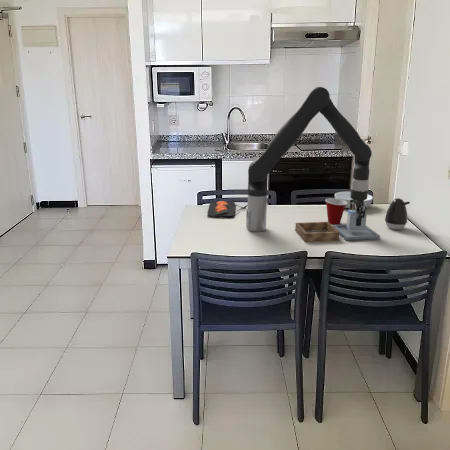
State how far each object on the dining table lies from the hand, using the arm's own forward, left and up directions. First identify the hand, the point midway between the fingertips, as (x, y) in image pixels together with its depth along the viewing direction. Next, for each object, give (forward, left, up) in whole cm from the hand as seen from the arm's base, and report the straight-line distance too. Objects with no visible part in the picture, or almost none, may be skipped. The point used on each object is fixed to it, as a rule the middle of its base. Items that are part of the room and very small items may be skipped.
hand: (356, 223), depth 217 cm
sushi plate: (-50, +45, -6) cm, 68 cm away
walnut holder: (-19, 0, -5) cm, 20 cm away
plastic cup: (-4, +17, -5) cm, 18 cm away
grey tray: (0, 0, -5) cm, 5 cm away
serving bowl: (+17, +45, -5) cm, 49 cm away
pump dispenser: (+23, +6, -5) cm, 24 cm away
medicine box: (0, 0, -3) cm, 3 cm away
